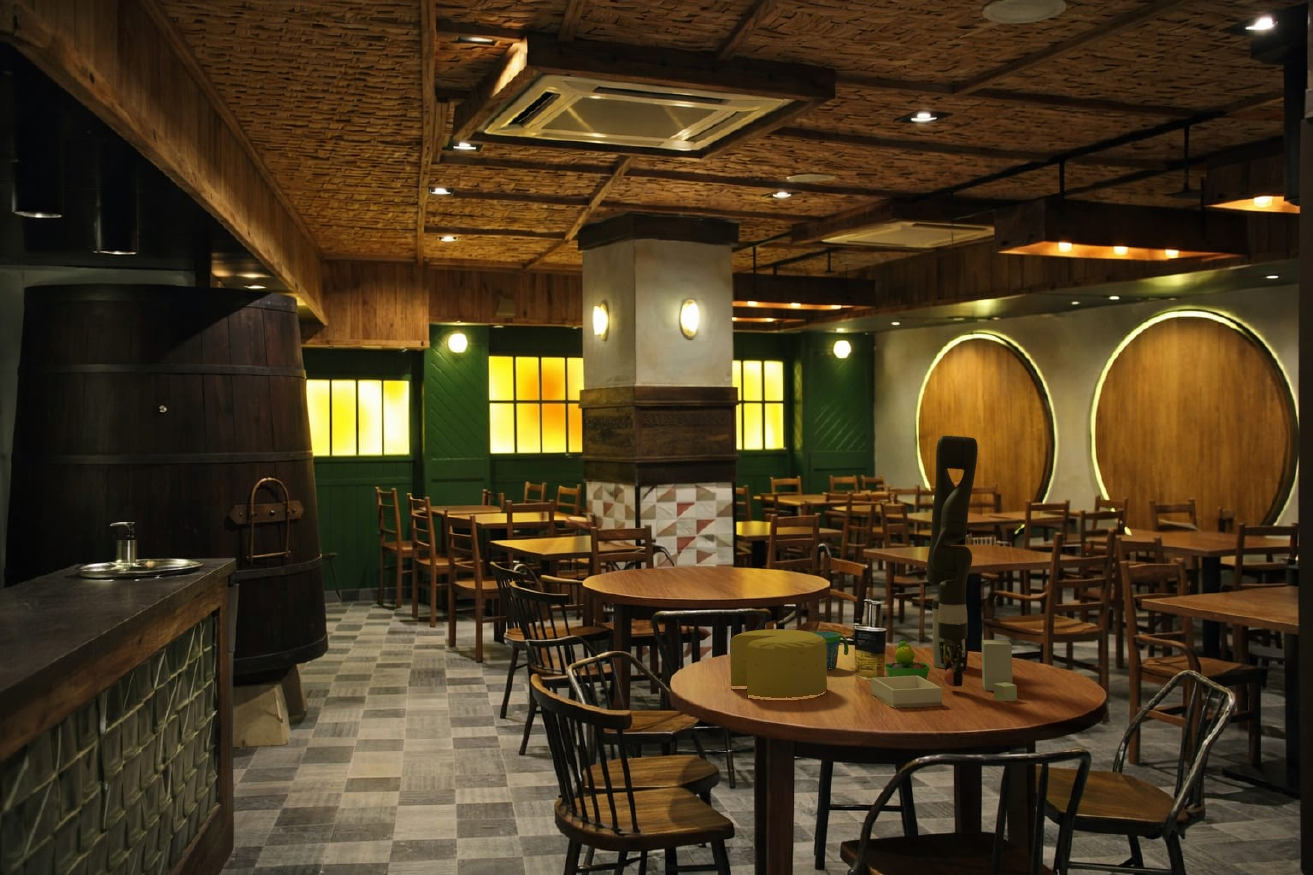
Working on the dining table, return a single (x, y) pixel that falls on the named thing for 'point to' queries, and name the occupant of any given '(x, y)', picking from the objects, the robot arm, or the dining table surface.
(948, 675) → the ball
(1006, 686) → the green block
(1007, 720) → the dining table surface
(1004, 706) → the dining table surface
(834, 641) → the snack cup
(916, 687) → the bin
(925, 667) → the fruit basket
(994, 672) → the supplement box
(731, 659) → the cheese
